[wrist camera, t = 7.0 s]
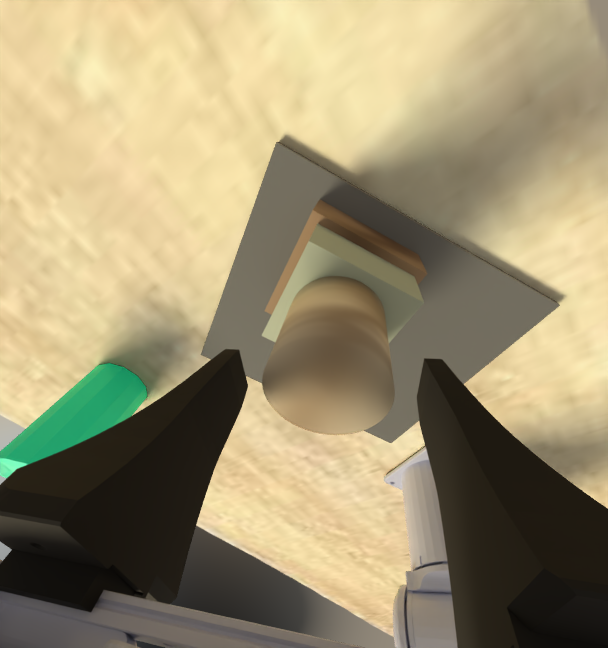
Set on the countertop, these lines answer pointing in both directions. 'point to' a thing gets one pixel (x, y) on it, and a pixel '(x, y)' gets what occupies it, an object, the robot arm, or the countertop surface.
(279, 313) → the tower top
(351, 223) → the tower base
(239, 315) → the mat
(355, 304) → the tan rounded cylinder
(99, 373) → the candle
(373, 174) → the countertop surface
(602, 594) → the robot arm
